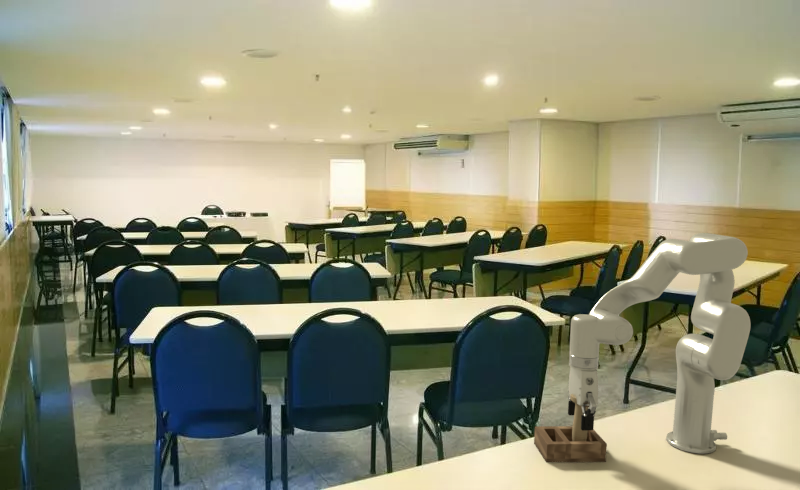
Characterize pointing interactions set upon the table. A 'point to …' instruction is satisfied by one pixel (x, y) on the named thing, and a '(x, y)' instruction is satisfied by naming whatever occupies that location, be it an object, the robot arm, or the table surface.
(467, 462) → the table surface
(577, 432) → the handle
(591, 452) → the socket block
